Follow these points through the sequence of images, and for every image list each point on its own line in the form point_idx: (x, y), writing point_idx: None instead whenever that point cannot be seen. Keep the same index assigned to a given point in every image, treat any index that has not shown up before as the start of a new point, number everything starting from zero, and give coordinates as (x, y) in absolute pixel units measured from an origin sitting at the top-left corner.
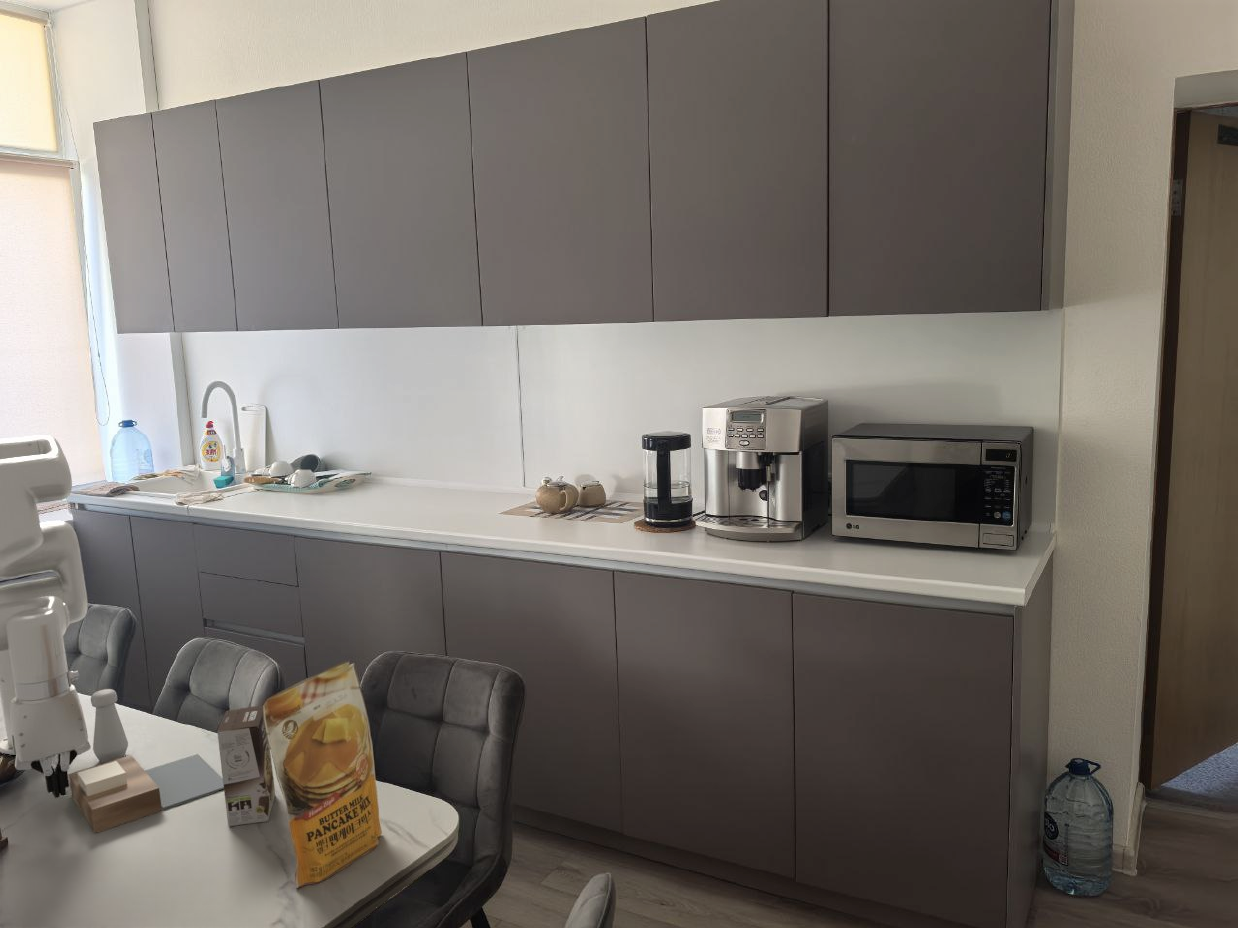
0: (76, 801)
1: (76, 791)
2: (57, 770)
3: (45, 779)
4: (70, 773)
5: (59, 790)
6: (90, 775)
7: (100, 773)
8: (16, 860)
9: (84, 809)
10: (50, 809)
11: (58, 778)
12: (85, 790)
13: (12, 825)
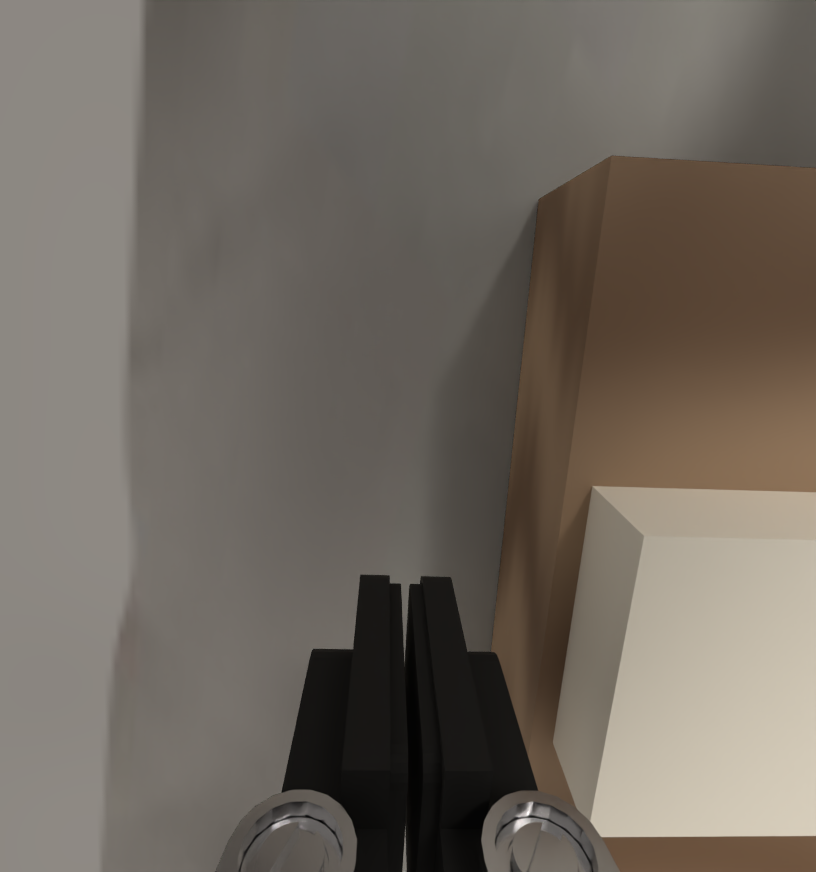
0: (524, 372)
1: (546, 459)
2: (434, 854)
3: (294, 732)
4: (629, 160)
5: (405, 682)
6: (695, 695)
7: (771, 713)
8: (131, 772)
9: (508, 621)
10: (373, 314)
11: (408, 860)
12: (568, 732)
13: (137, 365)
